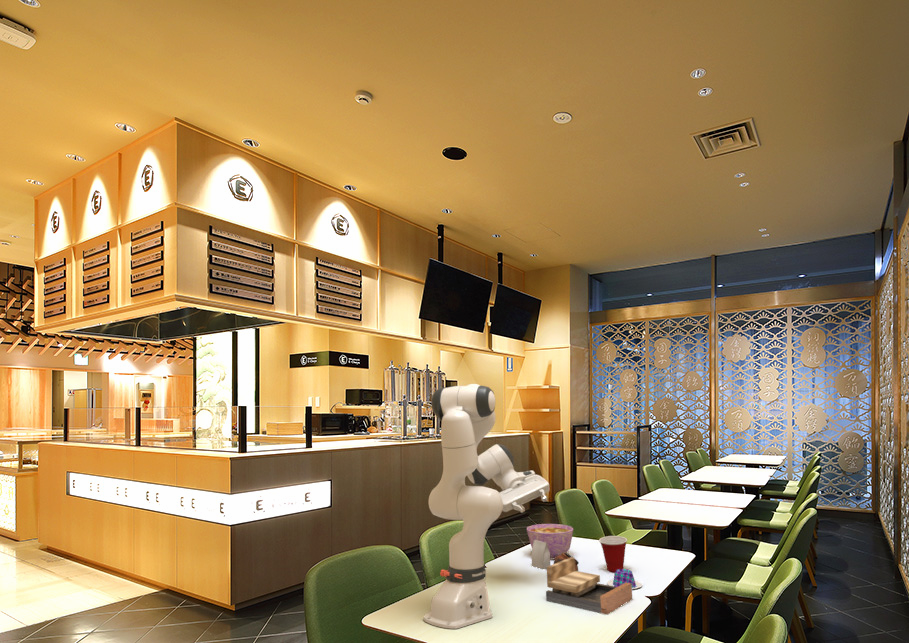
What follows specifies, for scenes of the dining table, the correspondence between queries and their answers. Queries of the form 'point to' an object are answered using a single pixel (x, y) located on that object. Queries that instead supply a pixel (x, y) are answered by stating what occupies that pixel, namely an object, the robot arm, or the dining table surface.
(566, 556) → the brown bent arch
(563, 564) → the tan slatted block
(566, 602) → the track
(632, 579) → the pudding
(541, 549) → the tea bag
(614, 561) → the plastic cup
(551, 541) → the bowl of food
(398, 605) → the dining table surface
